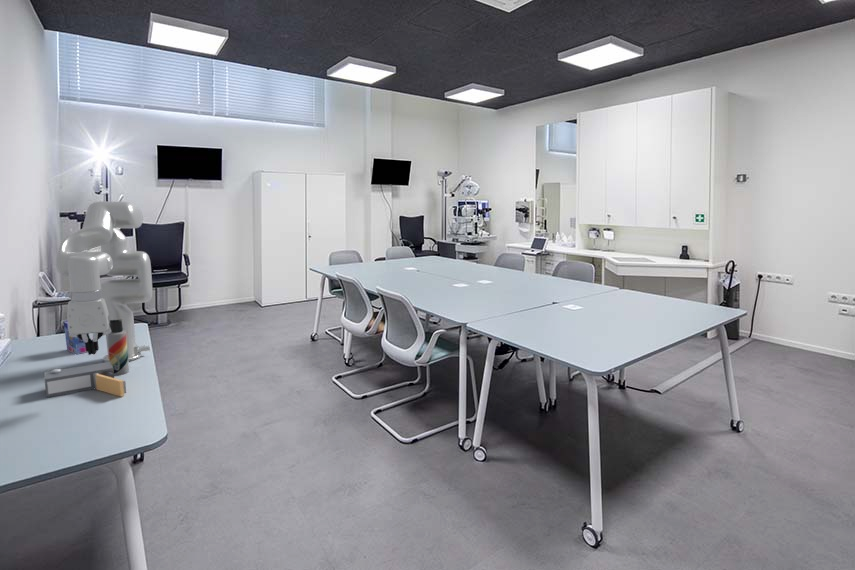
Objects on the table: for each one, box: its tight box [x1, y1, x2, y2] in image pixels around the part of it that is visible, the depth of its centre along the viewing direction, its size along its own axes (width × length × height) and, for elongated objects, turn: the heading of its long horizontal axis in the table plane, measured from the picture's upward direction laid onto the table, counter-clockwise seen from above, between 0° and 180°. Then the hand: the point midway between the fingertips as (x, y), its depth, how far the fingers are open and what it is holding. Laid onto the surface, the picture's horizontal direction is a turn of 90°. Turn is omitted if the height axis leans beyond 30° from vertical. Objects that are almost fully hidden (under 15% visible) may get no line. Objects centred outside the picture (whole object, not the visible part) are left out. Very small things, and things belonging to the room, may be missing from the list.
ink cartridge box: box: [63, 320, 87, 355], centre depth 192 cm, size 10×6×14 cm, turn 55°
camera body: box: [43, 362, 115, 398], centre depth 155 cm, size 18×9×7 cm, turn 130°
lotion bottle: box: [107, 319, 130, 376], centre depth 168 cm, size 6×6×20 cm
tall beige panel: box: [93, 373, 127, 397], centre depth 152 cm, size 14×2×5 cm, turn 66°
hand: (92, 353), depth 146 cm, fingers closed
